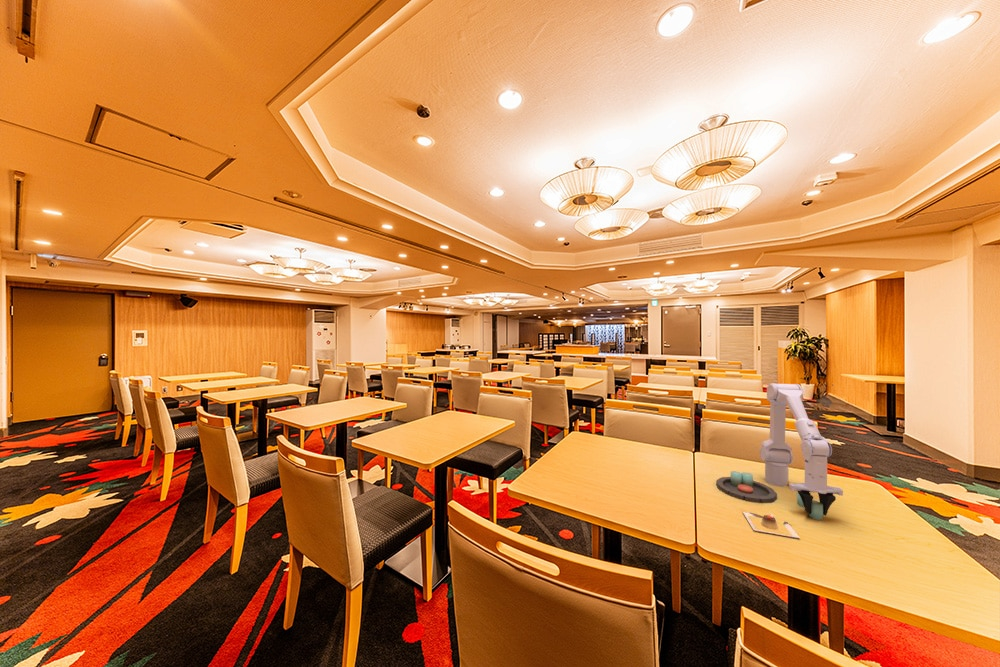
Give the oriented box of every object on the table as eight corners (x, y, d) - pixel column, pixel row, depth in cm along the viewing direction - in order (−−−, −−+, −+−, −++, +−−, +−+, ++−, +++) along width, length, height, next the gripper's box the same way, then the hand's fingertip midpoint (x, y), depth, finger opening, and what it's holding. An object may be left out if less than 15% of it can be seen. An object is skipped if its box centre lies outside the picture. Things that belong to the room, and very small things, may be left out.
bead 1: (732, 482, 144) (732, 470, 143) (743, 485, 140) (743, 473, 140) (729, 484, 141) (729, 472, 141) (739, 488, 138) (739, 475, 138)
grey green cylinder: (809, 513, 121) (809, 499, 121) (824, 517, 118) (824, 503, 118) (806, 516, 119) (806, 502, 119) (821, 521, 116) (821, 506, 116)
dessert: (753, 533, 110) (753, 518, 110) (742, 514, 121) (742, 501, 121) (800, 541, 106) (800, 526, 106) (784, 521, 117) (784, 507, 117)
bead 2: (798, 504, 127) (798, 490, 127) (812, 508, 124) (812, 494, 124) (795, 507, 125) (795, 493, 125) (809, 511, 122) (809, 497, 122)
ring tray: (727, 478, 149) (727, 473, 149) (782, 495, 134) (782, 489, 134) (708, 491, 138) (708, 485, 138) (766, 511, 123) (766, 504, 123)
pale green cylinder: (743, 483, 142) (743, 471, 142) (754, 487, 139) (754, 474, 139) (740, 486, 140) (740, 474, 140) (751, 489, 137) (751, 477, 137)
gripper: (798, 476, 116) (797, 516, 116) (849, 481, 113) (849, 522, 113) (786, 468, 123) (785, 506, 123) (834, 472, 120) (834, 511, 120)
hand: (815, 513), depth 119 cm, fingers closed on grey green cylinder, 4 cm apart
